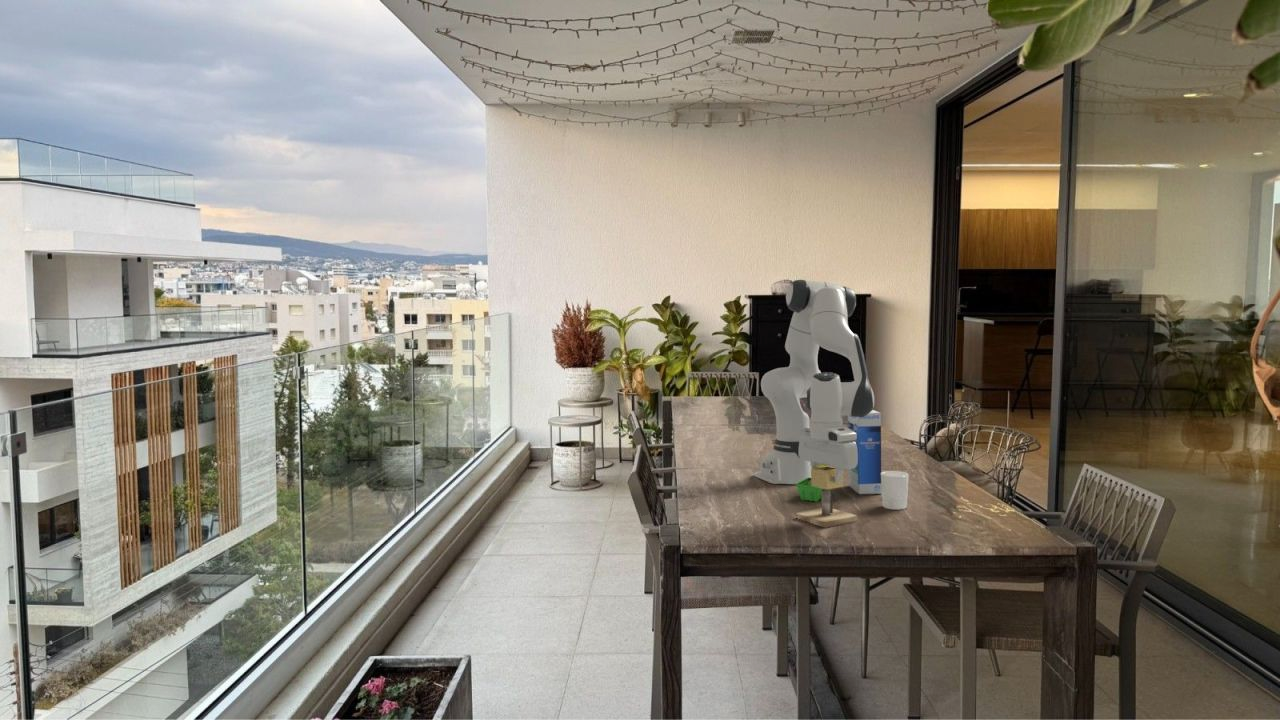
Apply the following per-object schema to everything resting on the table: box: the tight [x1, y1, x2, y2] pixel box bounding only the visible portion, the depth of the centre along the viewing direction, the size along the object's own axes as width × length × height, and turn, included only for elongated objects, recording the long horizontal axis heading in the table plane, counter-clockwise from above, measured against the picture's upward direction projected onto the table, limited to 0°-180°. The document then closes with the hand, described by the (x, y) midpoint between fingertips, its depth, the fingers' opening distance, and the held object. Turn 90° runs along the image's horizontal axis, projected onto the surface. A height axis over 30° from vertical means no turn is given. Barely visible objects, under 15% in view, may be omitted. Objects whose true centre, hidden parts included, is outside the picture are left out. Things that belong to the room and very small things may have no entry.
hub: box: [811, 465, 844, 490], centre depth 233 cm, size 6×6×5 cm
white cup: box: [881, 470, 909, 511], centre depth 246 cm, size 8×8×10 cm
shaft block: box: [795, 489, 858, 528], centre depth 234 cm, size 12×12×8 cm
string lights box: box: [847, 409, 882, 495], centre depth 268 cm, size 13×8×26 cm, turn 0°
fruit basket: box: [795, 464, 827, 502], centre depth 260 cm, size 11×9×11 cm
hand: (827, 480), depth 233 cm, fingers closed on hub, 6 cm apart
